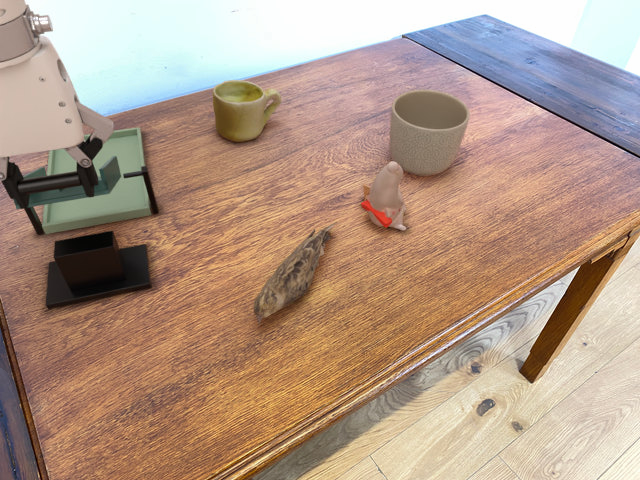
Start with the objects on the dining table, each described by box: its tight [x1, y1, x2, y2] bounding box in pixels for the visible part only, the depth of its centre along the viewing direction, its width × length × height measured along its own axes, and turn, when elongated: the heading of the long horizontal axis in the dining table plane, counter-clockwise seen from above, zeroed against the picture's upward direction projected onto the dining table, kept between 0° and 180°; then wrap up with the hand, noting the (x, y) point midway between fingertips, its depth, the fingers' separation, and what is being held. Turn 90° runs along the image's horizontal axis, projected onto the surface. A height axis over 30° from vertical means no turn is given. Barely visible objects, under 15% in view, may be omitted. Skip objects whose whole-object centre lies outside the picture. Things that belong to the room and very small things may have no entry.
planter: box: [389, 89, 471, 177], centre depth 86 cm, size 12×12×11 cm
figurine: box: [360, 160, 407, 231], centre depth 75 cm, size 9×7×12 cm
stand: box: [23, 165, 160, 310], centre depth 70 cm, size 16×17×8 cm
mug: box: [212, 79, 282, 143], centre depth 93 cm, size 12×10×10 cm
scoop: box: [12, 156, 121, 210], centre depth 63 cm, size 19×10×4 cm, turn 15°
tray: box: [41, 126, 153, 235], centre depth 84 cm, size 23×15×2 cm, turn 18°
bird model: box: [253, 221, 338, 325], centre depth 69 cm, size 21×6×5 cm
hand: (58, 193), depth 57 cm, fingers closed on scoop, 6 cm apart
